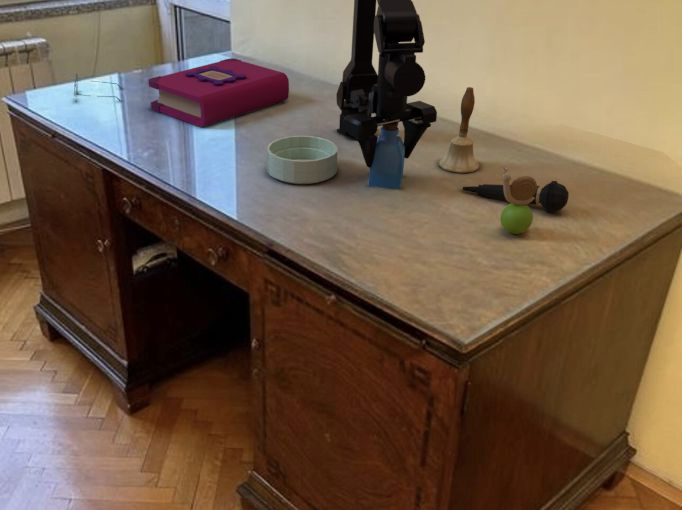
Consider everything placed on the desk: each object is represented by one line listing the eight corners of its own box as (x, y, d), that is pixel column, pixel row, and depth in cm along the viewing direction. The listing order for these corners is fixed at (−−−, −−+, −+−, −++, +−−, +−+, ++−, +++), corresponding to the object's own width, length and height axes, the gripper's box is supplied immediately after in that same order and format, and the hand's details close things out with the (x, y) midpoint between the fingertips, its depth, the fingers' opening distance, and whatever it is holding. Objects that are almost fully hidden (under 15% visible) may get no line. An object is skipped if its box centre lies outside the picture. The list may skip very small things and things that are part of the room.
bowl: (312, 154, 166) (312, 131, 163) (350, 176, 156) (351, 152, 153) (254, 167, 159) (253, 143, 156) (290, 191, 150) (290, 166, 147)
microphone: (459, 208, 150) (564, 220, 141) (456, 185, 146) (563, 195, 137) (469, 191, 153) (572, 201, 144) (466, 167, 149) (572, 176, 139)
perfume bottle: (399, 189, 151) (405, 128, 144) (368, 186, 152) (372, 126, 145) (402, 176, 156) (407, 118, 149) (372, 174, 157) (375, 115, 150)
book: (289, 102, 194) (289, 71, 190) (204, 129, 178) (202, 96, 173) (232, 84, 206) (231, 55, 202) (148, 108, 189) (145, 77, 185)
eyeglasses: (121, 87, 203) (119, 68, 201) (120, 102, 193) (118, 82, 190) (77, 89, 202) (74, 70, 199) (74, 105, 192) (71, 84, 189)
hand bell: (454, 155, 165) (463, 79, 156) (487, 165, 161) (498, 88, 151) (430, 165, 161) (438, 87, 152) (463, 176, 156) (474, 97, 147)
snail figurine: (489, 225, 138) (499, 161, 131) (524, 224, 138) (536, 160, 131) (497, 239, 133) (509, 173, 126) (534, 238, 134) (547, 172, 127)
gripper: (404, 64, 152) (399, 142, 161) (326, 78, 144) (325, 159, 153) (442, 77, 145) (434, 158, 153) (362, 92, 136) (358, 177, 145)
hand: (387, 162), depth 151 cm, fingers closed on perfume bottle, 9 cm apart
